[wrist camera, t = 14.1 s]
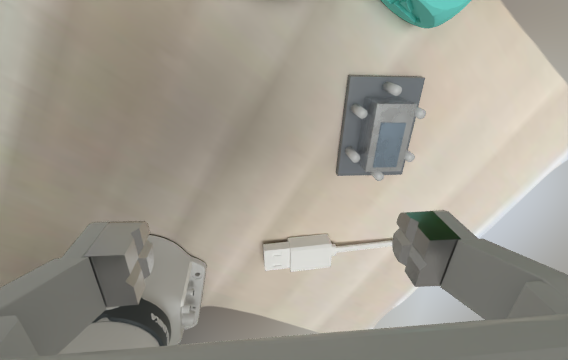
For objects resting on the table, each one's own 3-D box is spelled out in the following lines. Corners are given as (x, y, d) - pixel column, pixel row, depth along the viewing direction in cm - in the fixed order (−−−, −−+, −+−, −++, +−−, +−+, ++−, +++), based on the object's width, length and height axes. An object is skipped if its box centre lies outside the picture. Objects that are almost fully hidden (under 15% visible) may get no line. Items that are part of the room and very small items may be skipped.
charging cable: (436, 242, 55) (447, 254, 52) (263, 262, 51) (265, 276, 48) (442, 220, 53) (455, 231, 50) (262, 239, 48) (264, 252, 45)
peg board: (398, 171, 46) (411, 183, 42) (336, 172, 44) (343, 185, 41) (421, 76, 39) (438, 81, 36) (348, 75, 38) (358, 79, 34)
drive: (388, 159, 43) (401, 171, 40) (355, 160, 43) (365, 172, 39) (401, 97, 39) (417, 104, 35) (365, 96, 39) (377, 104, 35)
